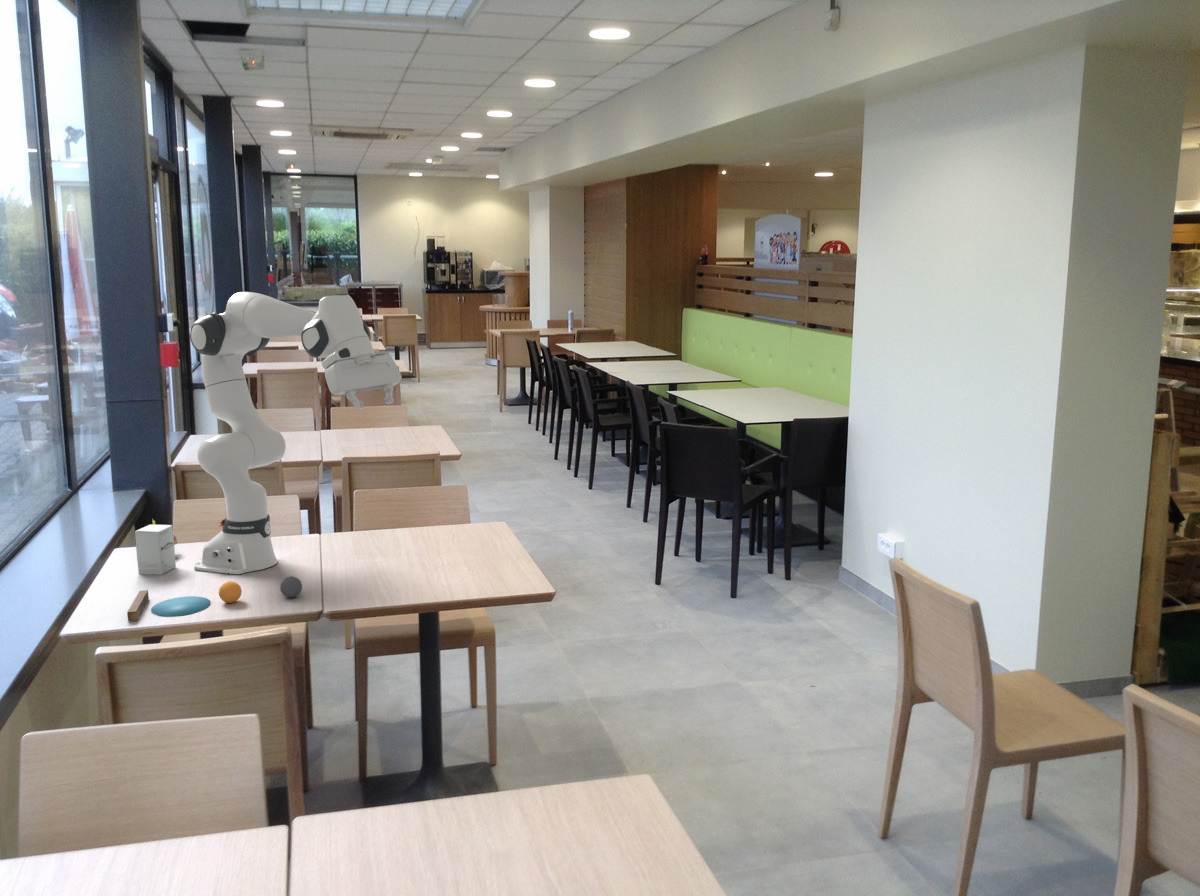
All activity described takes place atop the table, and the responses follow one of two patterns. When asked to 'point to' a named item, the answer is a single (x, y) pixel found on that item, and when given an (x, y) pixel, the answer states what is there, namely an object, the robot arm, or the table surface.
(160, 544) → the supplement box
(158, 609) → the teal mark
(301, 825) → the table surface
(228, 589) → the orange ball
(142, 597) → the wall
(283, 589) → the gray ball
